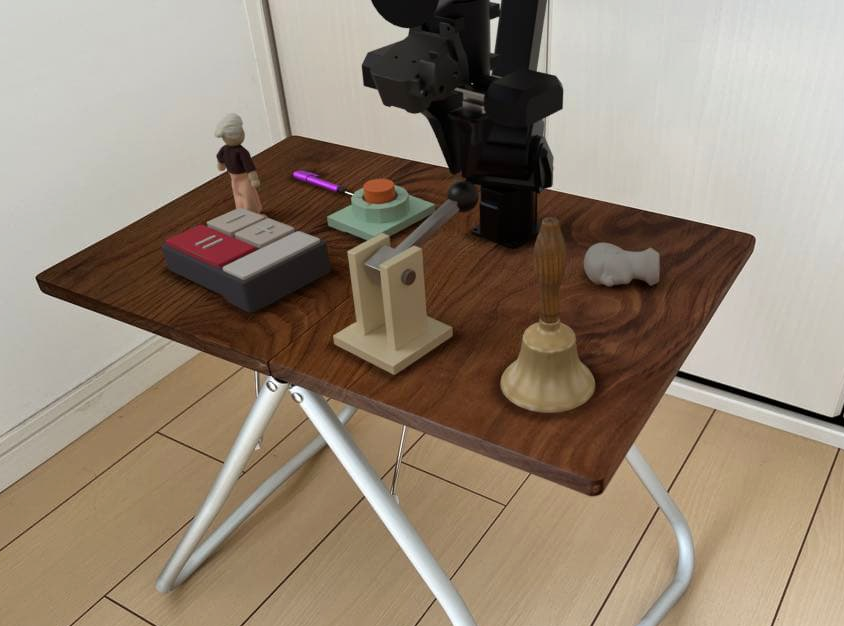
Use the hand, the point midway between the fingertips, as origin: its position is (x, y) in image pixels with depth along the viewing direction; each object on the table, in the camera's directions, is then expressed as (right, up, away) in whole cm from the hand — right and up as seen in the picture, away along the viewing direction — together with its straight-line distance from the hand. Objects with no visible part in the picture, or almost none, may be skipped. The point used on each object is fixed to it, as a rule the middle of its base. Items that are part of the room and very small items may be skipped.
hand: (461, 174), depth 81 cm
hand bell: (+8, -20, -4) cm, 22 cm away
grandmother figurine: (-25, +1, +24) cm, 35 cm away
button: (-9, +3, +21) cm, 23 cm away
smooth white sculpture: (+16, -9, +9) cm, 21 cm away
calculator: (-23, -7, +14) cm, 28 cm away
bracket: (-6, -15, +2) cm, 17 cm away
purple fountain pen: (-15, +5, +30) cm, 34 cm away
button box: (-9, +1, +22) cm, 24 cm away
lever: (-3, -6, 0) cm, 7 cm away
